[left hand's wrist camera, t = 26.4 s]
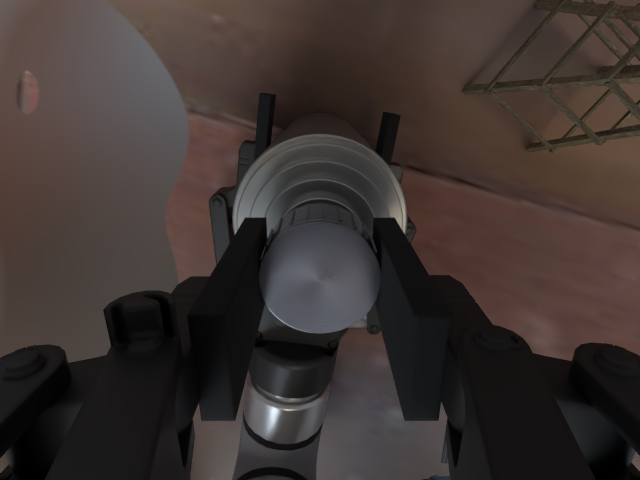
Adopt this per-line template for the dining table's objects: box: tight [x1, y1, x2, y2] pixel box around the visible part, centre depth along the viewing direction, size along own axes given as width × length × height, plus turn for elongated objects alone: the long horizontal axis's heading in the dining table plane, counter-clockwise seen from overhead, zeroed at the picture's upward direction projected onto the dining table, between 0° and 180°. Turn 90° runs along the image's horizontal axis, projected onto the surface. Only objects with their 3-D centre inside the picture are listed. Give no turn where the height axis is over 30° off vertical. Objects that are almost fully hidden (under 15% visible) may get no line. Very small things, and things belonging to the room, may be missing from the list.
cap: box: [259, 203, 381, 333], centre depth 13 cm, size 4×4×2 cm
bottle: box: [232, 112, 408, 239], centre depth 24 cm, size 8×8×23 cm
